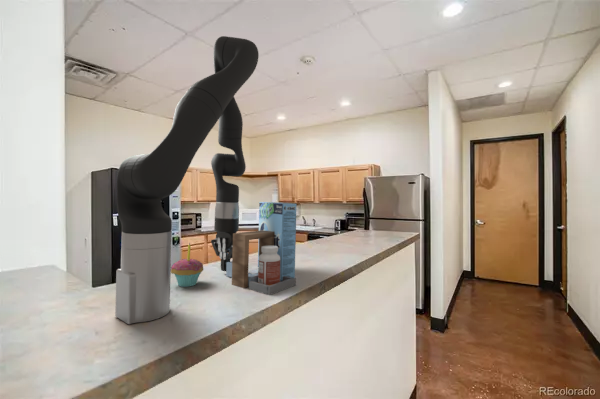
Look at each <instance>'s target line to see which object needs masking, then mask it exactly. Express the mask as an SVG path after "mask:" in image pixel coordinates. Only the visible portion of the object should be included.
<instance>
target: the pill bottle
mask: <svg viewBox="0 0 600 399" xmlns="http://www.w3.org/2000/svg"><path fill="white" fill-rule="evenodd" d="M261 252H262V254H261V255H260V256H259V260H258V259H257V273H258V283H262V284H266V285H269V286H270V285H273V284H276V283H279V282H280V256H279V255H278V254H277V252H278V246H271V245H270V246H262V247H261Z"/></svg>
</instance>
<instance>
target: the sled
mask: <svg viewBox="0 0 600 399" xmlns="http://www.w3.org/2000/svg"><path fill="white" fill-rule="evenodd" d="M225 273H226V274H225V275H226V277H230V278H232V260H230V262H227V265H226V271H225ZM249 281H255V282H258V272H256V273H251V272H248V287H249Z"/></svg>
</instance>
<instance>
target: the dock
mask: <svg viewBox="0 0 600 399" xmlns="http://www.w3.org/2000/svg"><path fill="white" fill-rule="evenodd" d="M296 280H297V279H296V277H295V278H292V277H288V276H283V281H280V282H279V283H276V284H273V285H270V286H269V285H266V284H262V283H258V282H255V281H249V286H248V289H249V290H251V291H254V292H258V293H261V294H265V295H269V296H270V295H274V294H276V293H279V292H281V291H285V290H287V289H290V288H292V287H294V286H297V285H296Z"/></svg>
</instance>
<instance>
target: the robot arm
mask: <svg viewBox="0 0 600 399" xmlns="http://www.w3.org/2000/svg"><path fill="white" fill-rule="evenodd" d="M212 56H213V61H212V62H213V70H214V73H213V74H210V75H208V76H205V77H204V78H201V79H200V80H198V81H197V82H195V83H193V84H192V85H191V86H190V87H189V89H187V90H186V92H185V93H184V94H183V95H182V97H181V98H180V100H179V101H178V103H177V105H176V106H175V109H174V114H173V118H172V119H173V120H172V125H171V128H170V129H169V132H168V133H167V135H166V136H164V138H163V139H162V141H161V142H160V143H159V144H158V145H157V146H156V147H155V148H154V149H153V150H152V151H151V152H149V153H143V154H136V155H131V156H129V157H127V158H125V159H124V160H123V161H122V162H121V164H120V165H119V168H118V171H117V174H116V175H117V176H116V199H117V200H116V205H117V215H118V216H117V217H118V218H119V221H120V224H121V240H120V242H121V243H120V246H121V247H120V248H121V249H120V268H117V269H116V274H115V277H116V278H115V312H114V314H115V315H114V316H115V318H118V319H119V320H121V321H122V322H124V323H125V324H127V325H131V324H134V323H135V324H136V323H144V322H149V321H154V320H158V319H159V318H162V317H164V316H166V315H168V313H169V312H170V310H171V309H170V308H171V307H170V306H171V305H170V304H171V278H172V277H171V274H172V273H171V266H172V265H171V264H172V231H173V230H172V228H173V227H172V225H173V223H172V222H173V221H172V218H171V216H169V215H168V214H167V213H166V212H165V211H164V208H163V207H162V199H165V198H167V197H170V196H171V195H172V194H174V193H175V192H176V191H177V189H178V188H179V187H180V185H181V183H182V181H183V179H184V178H185V176H186V173H187V172H188V169H189V168H190V165H191V164H192V161H193V159H194V158H195V156H196V153H197V152H198V151H199V149H200V148H201V146H202V145H203V143H204V141H205V140H206V138H207V137H208V135H209V134H210V132H211V131H212V129H213V128H214V126H215V125H216V124H217V122H218V130H217V131H218V133H217V134H218V136H217V142H218V145H219V146H221V147H223V148H225V149H229V150H232V152H234V154H232V153H219V152H218V153H215V154H214V155H213V156H212V158H211V162H210V164H211V170H212V173H213V177H214V181H215V187H216V190H215V194H216V195H215V207H214V229H213V230H214V232H216V234H215V238H214V239H211V240H210V243H211V246H212V248H213V250H214V253H215V255H216V256H217V257H219V259H220V270H221V272H222V271H223V272H226V265H227V262H231V260H232V253H233V233H238V231H239V227H240V226H239V224H240V207H239V206H240V205H239V201H240V187H239V185H237V184H235V183H231V182H227V181H226V180H225V179H224V178H223V177H224V176H225V177H241V176H243V175H244V173H245V172H246V169H247V168H246V167H247V166H246V161H245V157H244V152H243V145H242V144H243V143H242V142H243V141H242V140H243V125H244V124H243V116H242V112H241V109H240V107H239V105H238V103H237V101H236V99H235V95H236V94H237V92H238V91H239V90H241V88H242V87H243V86H244V85H245V83H246V82H247V81H248V80H249V79H250V77H251V76H252V75H254V72H255V70H256V69H257V68H256V67H257V66H258V63H259V49H258V47H257V45H256V43H255V42H253V41H252V40H249V39H247V38H240V37H232V36H226V35H225V36H219V37H218V38H217V39H216V40H215V43H214V45H213V52H212Z"/></svg>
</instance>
